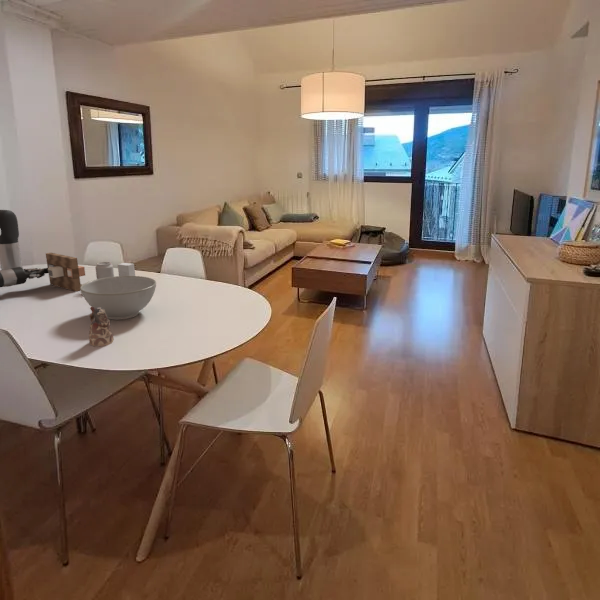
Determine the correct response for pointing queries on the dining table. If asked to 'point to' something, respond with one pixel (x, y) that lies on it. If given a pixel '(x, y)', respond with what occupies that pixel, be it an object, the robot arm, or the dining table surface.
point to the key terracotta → (81, 271)
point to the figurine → (99, 328)
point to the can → (104, 270)
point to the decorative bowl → (119, 295)
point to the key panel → (65, 271)
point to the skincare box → (126, 269)
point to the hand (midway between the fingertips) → (50, 269)
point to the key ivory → (55, 271)
